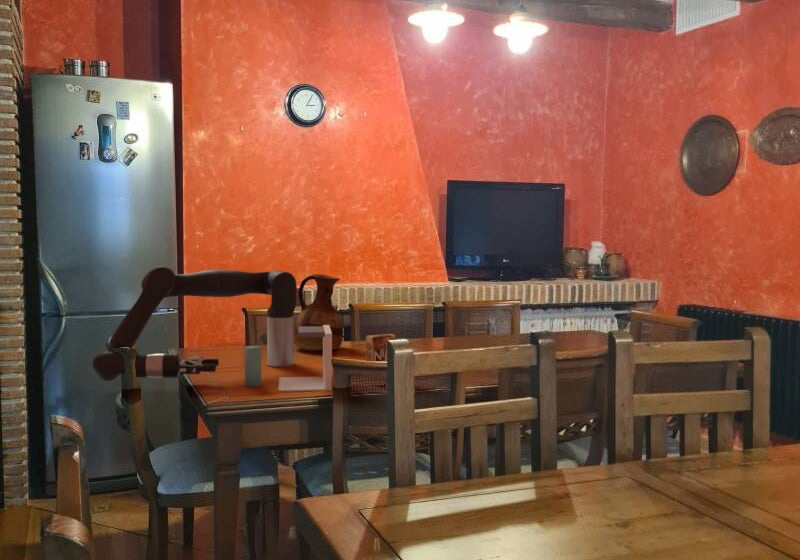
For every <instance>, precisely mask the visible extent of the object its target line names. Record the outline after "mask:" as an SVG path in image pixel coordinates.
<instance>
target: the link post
mask: <svg viewBox="0 0 800 560" xmlns="http://www.w3.org/2000/svg"><path fill="white" fill-rule="evenodd" d="M261 386H262V346H260V345H249V346H248V345H247V346H245V347H244V387H246V388H247V387H248V388H257V387H261Z"/></svg>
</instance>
